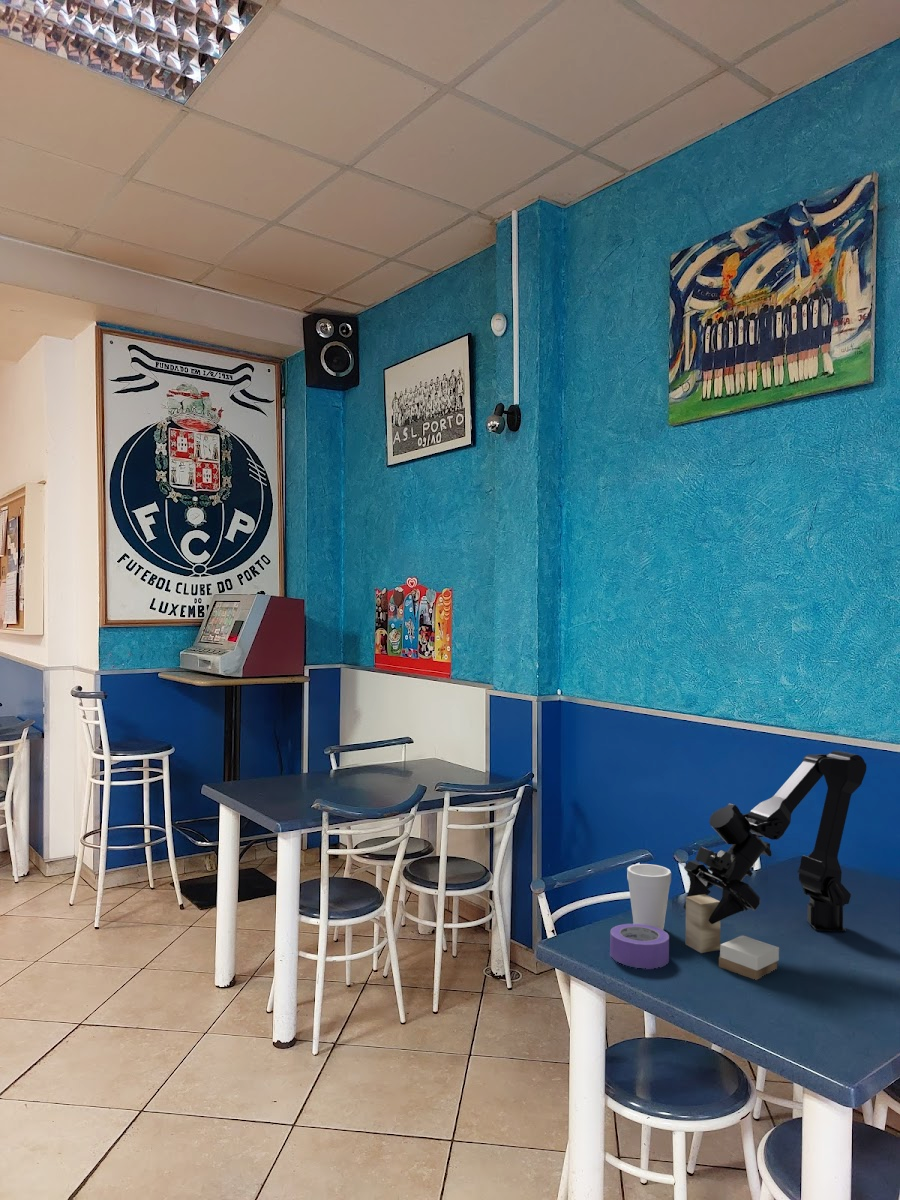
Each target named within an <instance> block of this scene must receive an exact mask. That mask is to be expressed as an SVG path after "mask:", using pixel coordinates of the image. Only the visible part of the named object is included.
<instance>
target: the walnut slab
mask: <svg viewBox="0 0 900 1200" xmlns="http://www.w3.org/2000/svg"><path fill="white" fill-rule="evenodd" d="M718 967H719V968H720V969H723V970H727V971H729V972H732V973H735V974H737V973H738V975H741V976H744V977H746V978H750V979H751V980H754V979H755V980H754V981H758V980H759V979H761V978H763V977H764V975H765V976H766V974H767V975H768V974H770V973H772V972H774V971H776V970H778V961H776V962H774V963H772V964H770V965H768V966H766V967H764V968H762V969H760V970H754V969H751V968H748V967H746V966H743V965H740V964H737V963H735V962H732V961H729V960H727V959H724V958H721V957H720V956H718ZM775 969H776V970H775ZM773 970H774V971H773ZM771 971H772V972H771ZM762 976H763V977H762Z"/></svg>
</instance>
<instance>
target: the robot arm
mask: <svg viewBox="0 0 900 1200" xmlns="http://www.w3.org/2000/svg"><path fill="white" fill-rule="evenodd" d="M867 768H868V767H867V763H866V762H865V760H864V758H863V756H861V755H859V754H855V753H850V752H846V751H840V750H833V751H831V752H830V753H826V754H825V753H824V754H823V753H822V754H820V753H818V754H812V753H811V754H807V755H805V756H804V757H803V759H802V762H801V763H800V765H799V766H798V767H797V768H796V769H795V770H794V772H792V774H791V775H790V776H789V778H788V779H787V780H786V781H785V782H784V783H783V784H782V785H781V787H780V788H779V789H778V790H777V791H776V793H775V794H774V795H772V797H770V798H767V799H766V800H763V801H760V802H759V803H758V804H757V805H756V806H754V807H753V808H752V809H751V810H750V811H749V812H747V813H744V814H743V813H742V812H741V809H739V807H738V806H737V805H736V804H733V803H731V802H730V803H728V804H727V805H726V806H723V807H721V808H719V809H717V810H716V811H713V813H712V814H711V816H710V818H709V825H710V826H711V828H712V829H713V830H714V831H715V833H717V834H718V835H719V837H720V838H721V839H722V840H723V841H724V842H725V843H726V844H728V845H731V846H730V847H729V849H728V850H727V851H726V850H722V849H721V850H719V851H718V852H715V851H713V850H710V849H708V848H705V847H703V846H699V848H698V851H697V853H696V856H695V859H693V860H688V861H687V863H686V864H685V865H684V867H683V869H684V871H686V873H687V876H688V877H689V882H690V884H689V889H688V892H687V896H686V897H689V896H696V895H703V894H706V895H708V896H709V894H711V891H710V889H711V888H712V887H713V886H715V887H717V888H720V889H721V890H722V897H721V899H720V900H719V901H720V902H719V904H718V905H717V907H716V908H715V910H714V911H713V913H712V914H711V916H710V918H709V922H710V923H711V924H714V923H716V922H718V921H720V920H725V919H726V918H729V917H730V916H733V915H735V914H738V913H741V912H743V911H745V912H747V911H748V910H749V909H750V910H751V911H754V912H755V911H757V909H758V907H759V906H760V905H761V897H760V896H759V895H758V894H757V892H755V890H754V889H753V888H752V887H751V886H750V885H749V884H748V883H746V882H744V881H743V880H744V879H745V878H746V876H747V877H748V878H749V877H752V876H753V874H754V873H753V872H752V871H751V869H752V868H753V867H754V866H755V864H756V862H757V861H758V860H759V858H760V857H761V855H765V856H767V857H772V849H771V843H769V842H766V841H764V840H763V839H761V837H764V838H766V839H769V840H771V841H772V840H775V841H776V840H779V839H781V838H782V837H783V835H784V834H785V832H786V831H787V829H788V828H789V826H790V824H791V820H792V814H793V812H794V811H795V809H796V808H797V807H798V806H799V805H800V804H801V802H802V801H803V800H804V799H805V798H806V796H807V795H808V794H809V793H810V791H811V790H812V789H813V788H814V787H815V786H816V784H817V783H818V782H819V781H820V780H821V779H822V777H823V776H824V780H825V783H826V787H827V791H826V795H825V799H824V800H825V801H824V803H823V804H824V805H823V808H822V813H821V817H820V822H819V826H818V831H817V835H816V839H815V844H814V848H813V850H812V851H811V852H810V853H809V855H808V856H807V855H802V856H801V858H800V865H799V868H798V869H797V873H798V881H799V882H800V885H801V887H802V891H803V894H804V895H805V896H809V902H808V903H807V904H806V905H807V915H806V916H807V918H806V920H807V922H808V923H809V925H810V926H811V927H812V928H813V929H814V931H816V932H817V931H818V932H837V933H839V932H843V933H845V932H847V929H846V928H845V927H844V906H845V905H849V904H850V901H851V897H852V894H851V893H850V891H848V889H847V888H846V887H845V886H844V885H843V884H842V867H841V865H840V862H839V859H838V856H839V851H840V847H841V844H842V843H841V841H842V837H843V834H844V829H845V826H846V825H845V824H846V820H847V817H848V816H847V815H848V811H849V807H850V803H851V798H852V795H853V793H854V792H856V791H857V790H858V789H859V788H860V786H861V785H862V783H863V782H864V778H865V775H866V774H867V773H866V772H867ZM760 836H761V837H760ZM683 909H684V910H685V911H686V901H685V903H684V905H683Z"/></svg>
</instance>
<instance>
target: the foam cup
mask: <svg viewBox="0 0 900 1200" xmlns="http://www.w3.org/2000/svg"><path fill="white" fill-rule="evenodd" d="M626 871H627V873H626V874H627V876H626V877H627V878H626V879H627V882H628V888H629V897H630V905H631V914H632V922H633V923H632V924H643V925H649V926H653V927H657V928H659V929H662V930H664V928H665V921H666V913H667V908H668V902H669V901H668V899H669V894H670V893H669V892H670V885H671V883H672V872H671V870H670V869H669V868H667V867H665V866H662V865H659V864H649V863H637V864H632V865H629V866H627V868H626Z"/></svg>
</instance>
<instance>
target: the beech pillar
mask: <svg viewBox="0 0 900 1200" xmlns="http://www.w3.org/2000/svg"><path fill="white" fill-rule="evenodd" d="M720 901H721V900H718V899H716V898H714V897H711V896H710V895H709V894H708V895H706V894H703V895H696V896H689V897H687V896H685V902H686V910H685V945H686V946H688V947H689V948H691V949H693V950H695V951H696V952H698V953H699V954H703V953H708V952H715V951H720V944H721V920H720V921H718V922H716V923H714V924H711V923H710V922H709V918H710V916H711V914H712V913H713V911H714V910H715V908H716V907H717V905H718V904H719V902H720Z"/></svg>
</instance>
